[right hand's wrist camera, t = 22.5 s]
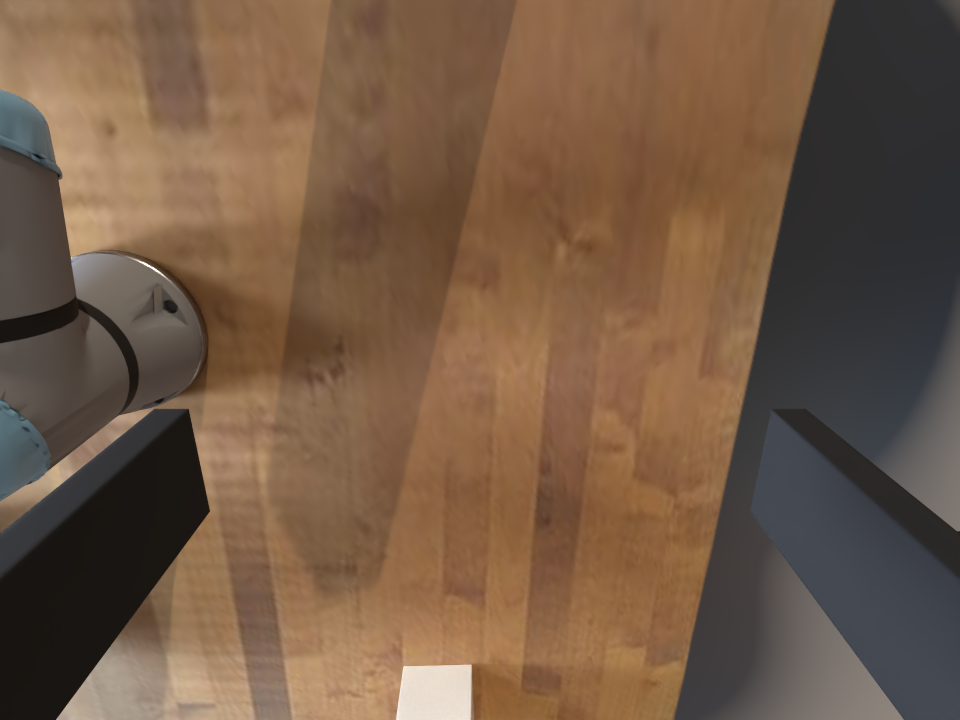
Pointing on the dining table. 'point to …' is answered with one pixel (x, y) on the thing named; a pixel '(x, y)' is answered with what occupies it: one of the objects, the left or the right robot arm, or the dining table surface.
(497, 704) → the dining table surface
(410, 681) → the brick
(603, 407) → the dining table surface
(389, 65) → the dining table surface
